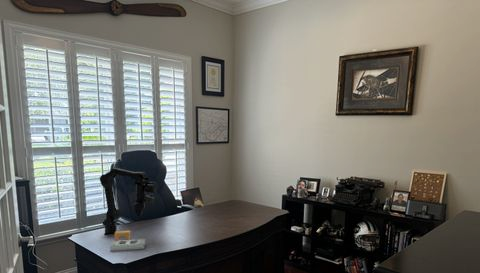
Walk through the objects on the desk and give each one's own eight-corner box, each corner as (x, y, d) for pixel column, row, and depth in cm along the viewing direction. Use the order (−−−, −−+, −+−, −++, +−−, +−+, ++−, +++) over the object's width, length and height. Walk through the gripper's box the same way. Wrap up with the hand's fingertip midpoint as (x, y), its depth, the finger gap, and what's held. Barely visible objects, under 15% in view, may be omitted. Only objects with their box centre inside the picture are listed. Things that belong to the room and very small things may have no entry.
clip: (114, 243, 167) (114, 233, 167) (115, 241, 170) (115, 231, 170) (129, 242, 169) (129, 232, 169) (130, 240, 172) (130, 230, 172)
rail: (110, 251, 156) (110, 245, 156) (113, 246, 163) (113, 241, 163) (143, 248, 160) (143, 243, 160) (145, 244, 166) (145, 239, 166)
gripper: (152, 194, 173) (152, 219, 173) (154, 188, 191) (153, 211, 191) (133, 194, 170) (133, 220, 171) (137, 189, 189) (136, 212, 189)
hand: (140, 215), depth 180 cm, fingers open, 9 cm apart
